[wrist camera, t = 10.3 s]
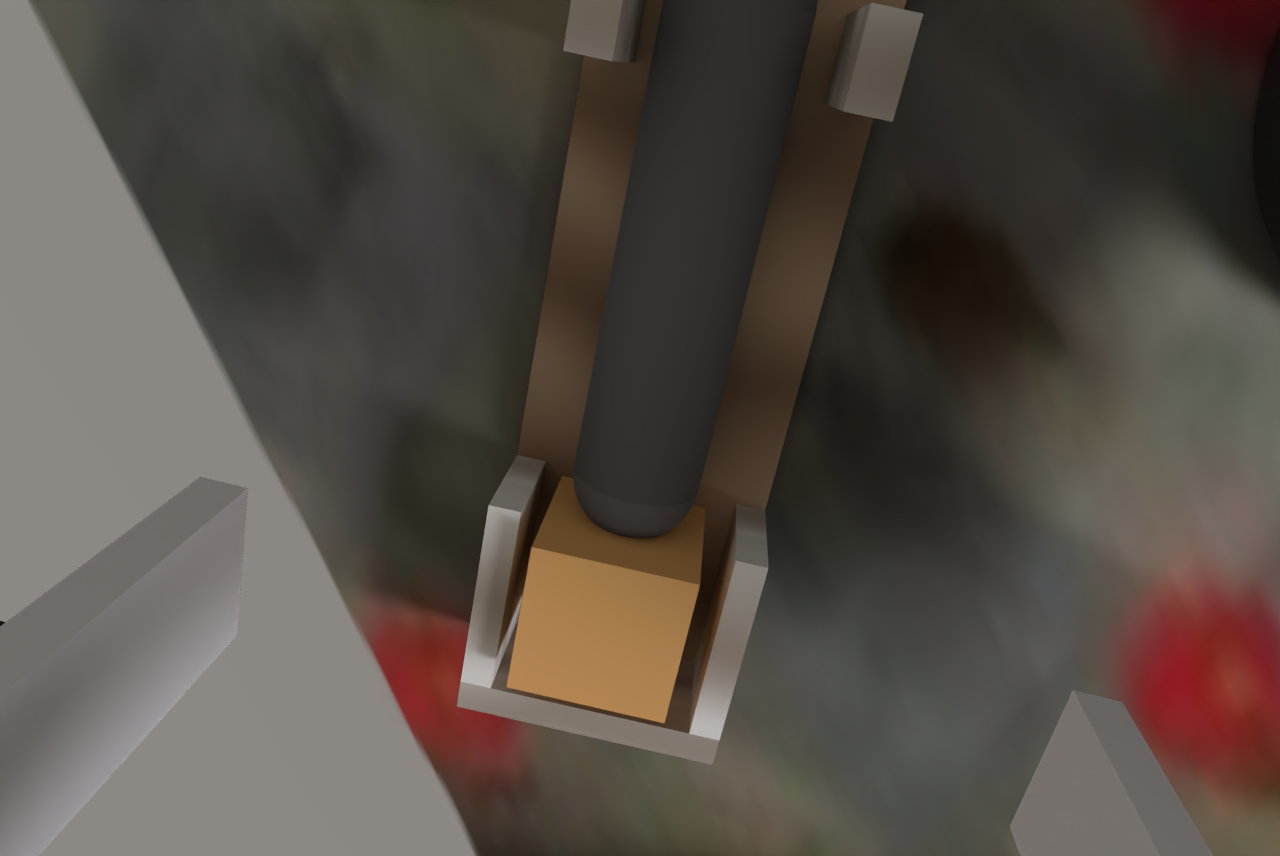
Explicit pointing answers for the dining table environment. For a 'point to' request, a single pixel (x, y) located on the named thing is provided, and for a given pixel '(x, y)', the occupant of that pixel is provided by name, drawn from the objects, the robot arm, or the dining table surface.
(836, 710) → the dining table surface
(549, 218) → the dining table surface
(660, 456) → the grey handled block hammer
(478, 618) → the wooden stand
